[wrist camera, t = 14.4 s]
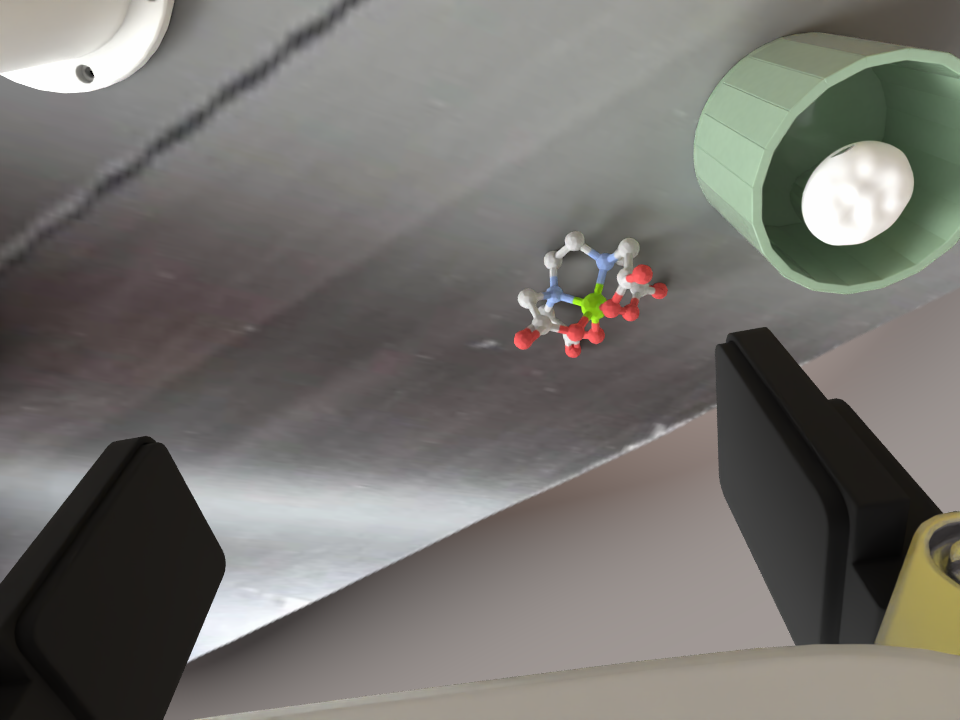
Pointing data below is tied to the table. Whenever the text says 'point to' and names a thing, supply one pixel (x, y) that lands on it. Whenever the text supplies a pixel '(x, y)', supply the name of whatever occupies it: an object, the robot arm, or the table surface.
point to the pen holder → (843, 110)
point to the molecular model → (591, 304)
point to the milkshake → (840, 183)
